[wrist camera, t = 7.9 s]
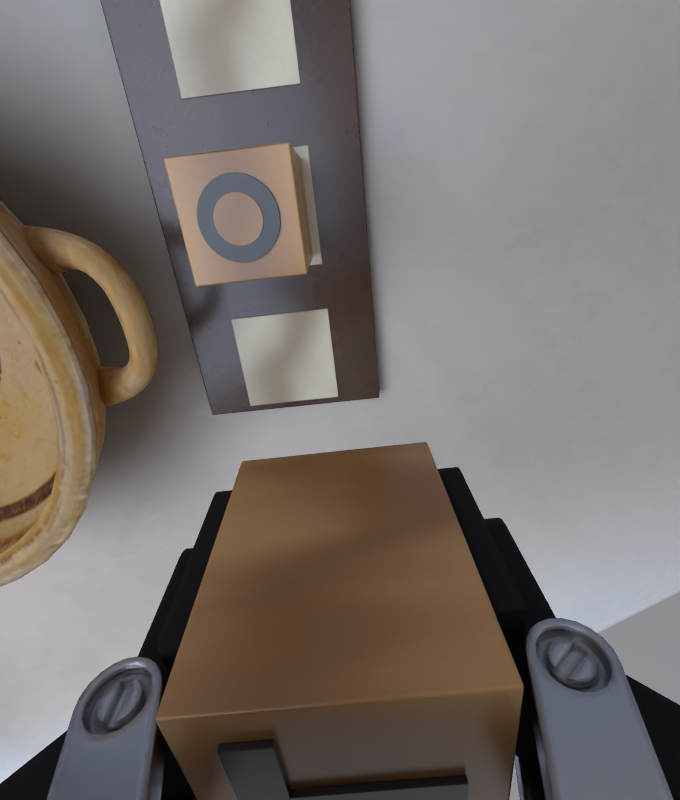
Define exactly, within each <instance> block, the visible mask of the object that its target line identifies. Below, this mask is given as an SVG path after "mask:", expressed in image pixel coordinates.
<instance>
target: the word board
mask: <svg viewBox="0 0 680 800" xmlns="http://www.w3.org/2000/svg"><path fill="white" fill-rule="evenodd" d="M100 1H101V4H102V8H103V12H104V15H105V19H106V23H107V26H108V30H109V34H110V38H111V41H112V45H113V49H114V52H115V56H116V60H117V63H118V67H119V71H120V74H121V78H122V82H123V86H124V89H125V93H126V97H127V100H128V104H129V108H130V111H131V115H132V119H133V122H134V126H135V130H136V133H137V137H138V141H139V145H140V148H141V152H142V156H143V159H144V163H145V167H146V170H147V174H148V178H149V181H150V185H151V189H152V193H153V196H154V200H155V204H156V207H157V211H158V215H159V218H160V222H161V226H162V229H163V233H164V237H165V241H166V244H167V248H168V252H169V255H170V259H171V263H172V266H173V270H174V274H175V277H176V281H177V285H178V289H179V292H180V296H181V300H182V303H183V307H184V311H185V314H186V318H187V322H188V325H189V329H190V333H191V337H192V340H193V344H194V348H195V351H196V355H197V359H198V362H199V366H200V370H201V373H202V377H203V381H204V385H205V388H206V392H207V396H208V399H209V403H210V407H211V410H212V414H213V415H217V414H226V413H236V412H245V411H255V410H265V409H274V408H284V407H293V406H303V405H312V404H322V403H331V402H341V401H351V400H360V399H370V398H379V386H378V372H377V359H376V345H375V332H374V318H373V305H372V291H371V278H370V264H369V251H368V238H367V224H366V211H365V197H364V184H363V170H362V157H361V143H360V130H359V116H358V103H357V89H356V76H355V63H354V49H353V36H352V22H351V9H350V0H100ZM285 142H289V143H290V145H291V146H292V147H293V148H294V150H295V151H296V152H297V154H298V155H299V156H300V158H301V166H302V174H303V181H304V189H305V197H306V204H307V212H308V220H309V228H310V235H311V243H312V251H313V257H312V260H311V263H310V266H309V269H308V272H307V274H304V275H295V276H286V277H277V278H269V279H260V280H251V281H242V282H234V283H225V284H216V285H207V286H199V287H197V286H196V285H195V281H194V277H193V274H192V270H191V266H190V262H189V258H188V254H187V250H186V246H185V242H184V238H183V234H182V230H181V226H180V222H179V218H178V214H177V210H176V206H175V202H174V198H173V194H172V190H171V186H170V183H169V179H168V175H167V171H166V167H165V163H164V158H165V157H173V156H181V155H189V154H197V153H205V152H213V151H221V150H229V149H237V148H245V147H253V146H261V145H269V144H277V143H285Z"/></svg>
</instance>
